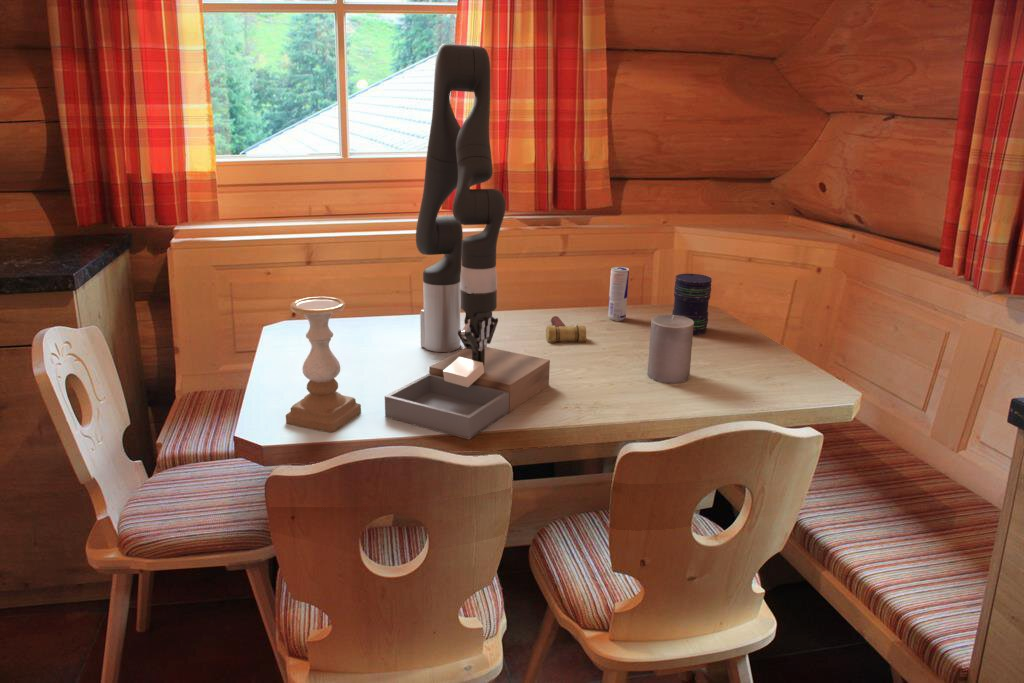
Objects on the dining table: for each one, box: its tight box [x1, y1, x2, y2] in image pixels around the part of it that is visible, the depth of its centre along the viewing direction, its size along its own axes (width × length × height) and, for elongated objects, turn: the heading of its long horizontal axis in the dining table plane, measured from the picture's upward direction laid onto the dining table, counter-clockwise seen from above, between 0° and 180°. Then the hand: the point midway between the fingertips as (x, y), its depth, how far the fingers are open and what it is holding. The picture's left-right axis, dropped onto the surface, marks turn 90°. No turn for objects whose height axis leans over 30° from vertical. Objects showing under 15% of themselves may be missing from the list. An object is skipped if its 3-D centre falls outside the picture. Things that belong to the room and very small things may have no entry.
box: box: [384, 373, 510, 441], centre depth 162 cm, size 20×15×4 cm
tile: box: [443, 357, 484, 387], centre depth 167 cm, size 6×6×2 cm
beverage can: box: [607, 266, 630, 322], centre depth 228 cm, size 5×5×15 cm
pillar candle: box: [646, 314, 694, 384], centre depth 184 cm, size 10×10×15 cm
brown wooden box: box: [428, 346, 551, 413], centre depth 176 cm, size 20×18×6 cm
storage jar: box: [671, 273, 713, 337], centre depth 219 cm, size 10×10×15 cm
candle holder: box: [285, 296, 362, 433], centre depth 157 cm, size 11×11×24 cm
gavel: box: [545, 315, 587, 344], centre depth 218 cm, size 21×5×10 cm
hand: (478, 365), depth 170 cm, fingers closed
